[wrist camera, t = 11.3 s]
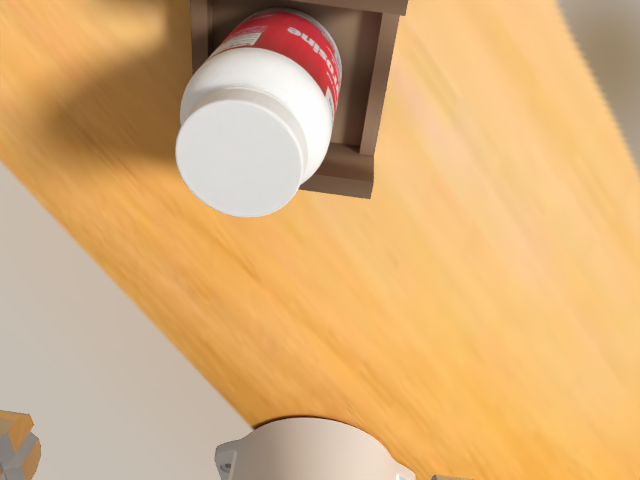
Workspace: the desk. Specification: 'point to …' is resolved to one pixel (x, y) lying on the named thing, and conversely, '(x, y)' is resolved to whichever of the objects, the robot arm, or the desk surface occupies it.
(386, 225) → the desk surface
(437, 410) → the desk surface
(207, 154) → the pill bottle
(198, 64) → the cradle
